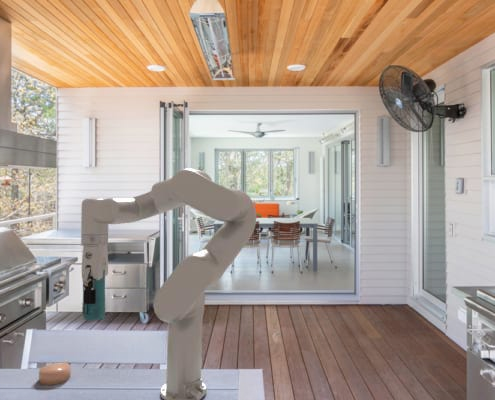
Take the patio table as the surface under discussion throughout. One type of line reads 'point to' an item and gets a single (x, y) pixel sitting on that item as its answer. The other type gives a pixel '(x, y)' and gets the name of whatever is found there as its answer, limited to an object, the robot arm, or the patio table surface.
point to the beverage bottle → (98, 308)
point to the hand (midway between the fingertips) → (94, 300)
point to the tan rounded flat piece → (54, 373)
